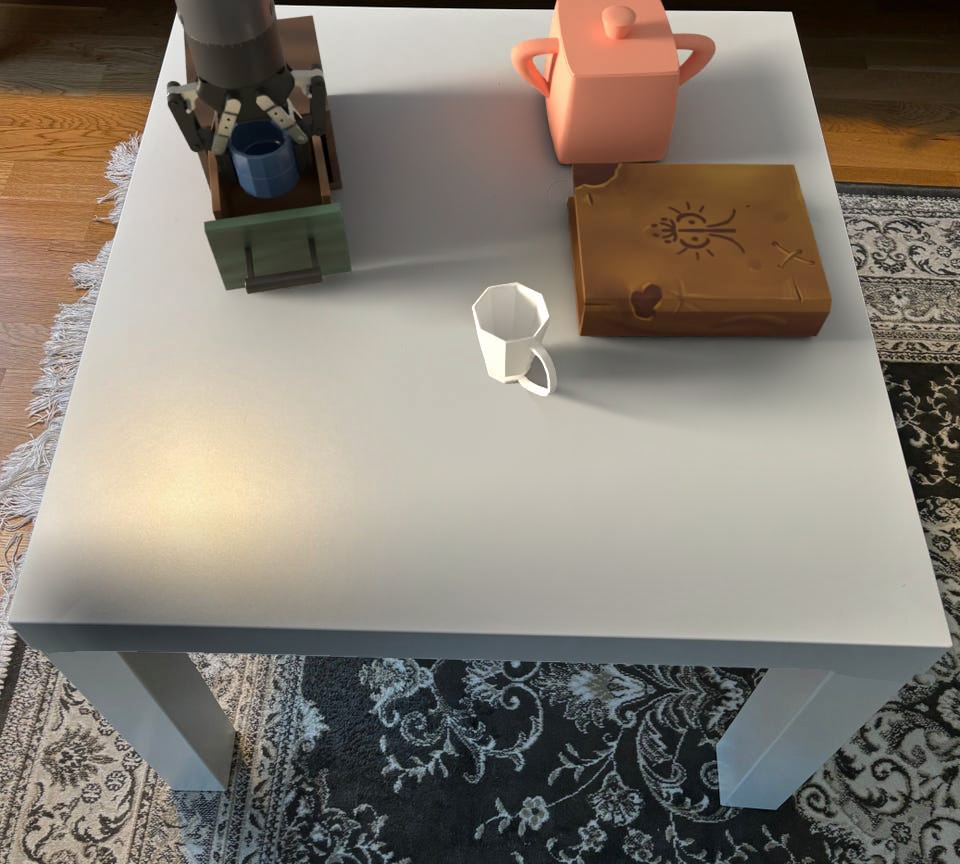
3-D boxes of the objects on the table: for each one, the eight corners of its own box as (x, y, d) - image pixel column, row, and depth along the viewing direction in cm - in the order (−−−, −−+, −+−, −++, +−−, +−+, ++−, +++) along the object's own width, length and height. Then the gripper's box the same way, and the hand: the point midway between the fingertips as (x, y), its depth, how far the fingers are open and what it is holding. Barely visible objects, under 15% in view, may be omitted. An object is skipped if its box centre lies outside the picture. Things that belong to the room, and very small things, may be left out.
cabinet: (342, 188, 97) (330, 110, 88) (215, 206, 96) (189, 128, 87) (325, 94, 105) (312, 14, 96) (207, 109, 104) (183, 30, 95)
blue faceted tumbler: (241, 207, 85) (228, 162, 80) (237, 163, 88) (224, 118, 84) (304, 198, 86) (294, 153, 81) (297, 155, 89) (288, 110, 84)
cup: (515, 324, 88) (519, 269, 81) (579, 393, 83) (589, 341, 76) (456, 357, 85) (455, 304, 78) (519, 430, 81) (524, 380, 74)
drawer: (359, 311, 87) (349, 252, 80) (229, 332, 86) (207, 273, 78) (334, 172, 97) (323, 108, 90) (217, 188, 96) (197, 124, 88)
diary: (579, 342, 86) (585, 304, 81) (566, 204, 96) (572, 163, 91) (813, 342, 87) (834, 304, 82) (778, 204, 96) (794, 162, 91)
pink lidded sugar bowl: (708, 165, 99) (741, 56, 88) (513, 173, 98) (519, 63, 87) (676, 53, 110) (701, -59, 98) (499, 59, 109) (503, -53, 97)
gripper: (311, -24, 75) (337, 137, 89) (136, -5, 73) (191, 156, 87) (322, 30, 71) (346, 189, 85) (137, 52, 69) (194, 210, 83)
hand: (267, 171), depth 86 cm, fingers closed on blue faceted tumbler, 6 cm apart
